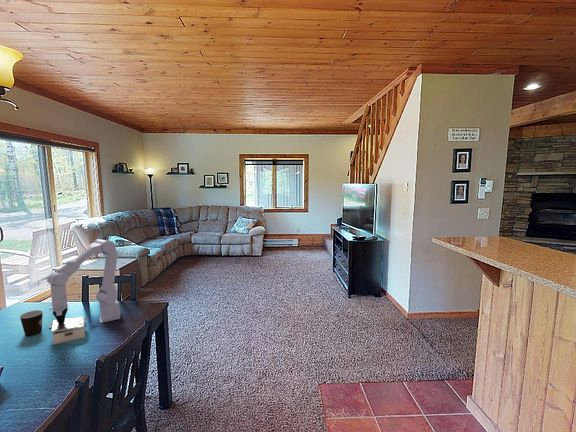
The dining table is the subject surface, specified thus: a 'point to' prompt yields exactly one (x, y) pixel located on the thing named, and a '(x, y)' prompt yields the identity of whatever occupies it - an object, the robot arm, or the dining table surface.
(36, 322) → the coffee mug
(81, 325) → the lid
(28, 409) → the dining table surface
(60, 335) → the white box
